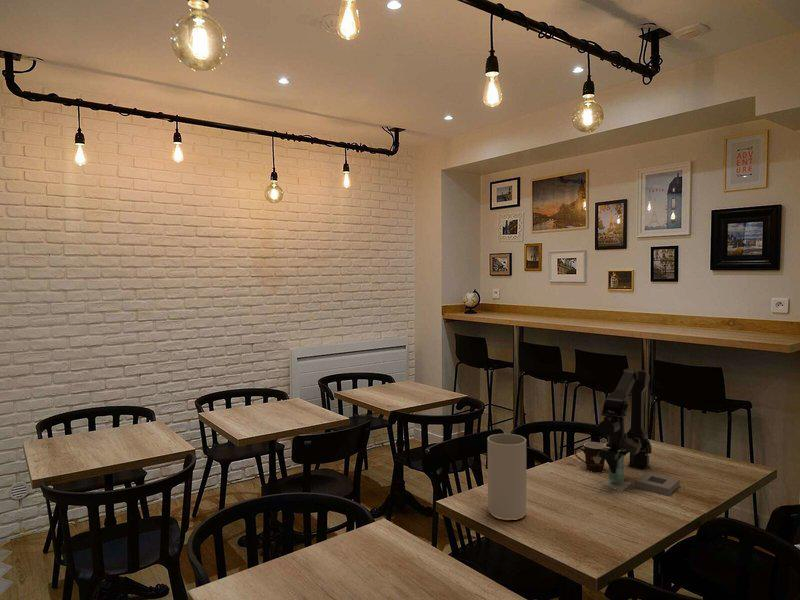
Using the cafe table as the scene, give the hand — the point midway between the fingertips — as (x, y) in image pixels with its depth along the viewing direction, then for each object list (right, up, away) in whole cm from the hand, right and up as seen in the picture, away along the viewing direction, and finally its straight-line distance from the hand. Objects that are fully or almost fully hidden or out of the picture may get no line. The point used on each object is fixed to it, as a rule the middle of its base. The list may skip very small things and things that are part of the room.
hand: (616, 471), depth 205 cm
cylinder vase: (-45, -7, -23) cm, 51 cm away
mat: (0, -5, 0) cm, 5 cm away
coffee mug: (-3, -5, +17) cm, 18 cm away
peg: (0, -4, 0) cm, 4 cm away
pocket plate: (+14, -5, -2) cm, 15 cm away
